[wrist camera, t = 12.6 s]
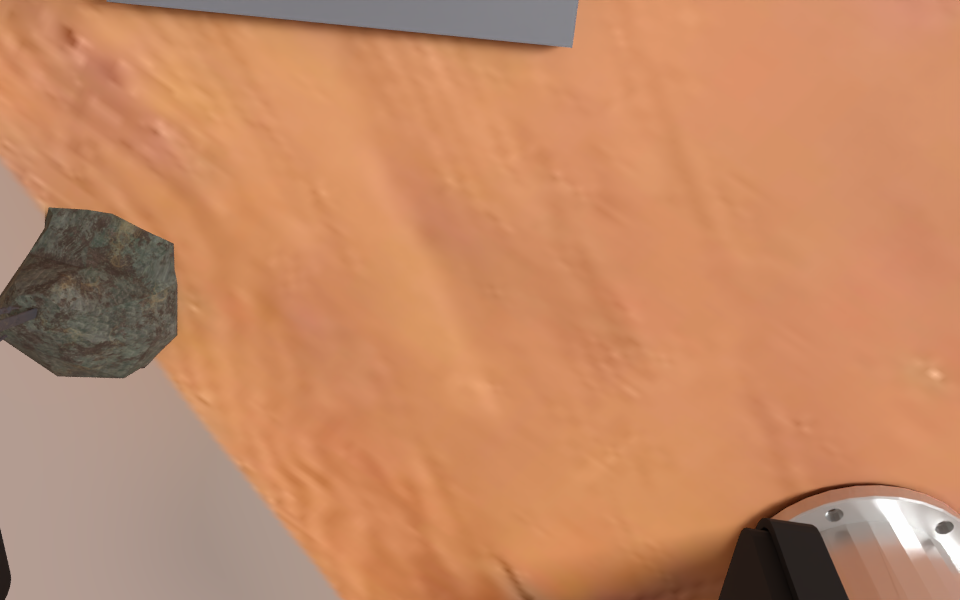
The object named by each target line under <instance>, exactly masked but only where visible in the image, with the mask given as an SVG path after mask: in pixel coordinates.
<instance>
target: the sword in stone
mask: <svg viewBox="0 0 960 600" xmlns="http://www.w3.org/2000/svg"><path fill="white" fill-rule="evenodd" d="M176 336H177V280H176V275H175V270H174V244H173V243H171V242H169V241H167V240H164V239H162V238H160V237H158V236H156V235H154V234H151V233H149V232H147V231H145V230H143V229H141V228H139V227H137V226H135V225H133V224H131V223H129V222H127V221H125V220H123V219H121V218H119V217H117V216H115V215H113V214H109V213H103V212H97V211H91V210H80V209H65V208H49V209H48V214H47V216H46V214H45V228H44V230H43V232H42V233H41V235H40V236H39V238H38V240H37V242H36V243H35V244H34V246H33V248H32V250H31V251H30V253H29V254H28V256H27V257H26V259H25V260H24V261H23V263H22V264H21V266H20V267H19V269H18V270H17V272H16V273H15V275H14V276H13V278H12V279H11V281H10V282H9V283H8V285H7V286H6V288H5V289H4V291H3V292H2V294H1V295H0V341H2V340H5V341H6V342H8V343H9V344H10V345H12V346H13V347H15V348H17V349H18V350H19V351H21V352H22V353H24V354H25V355H27V356H28V357H30V358H31V359H33V360H34V361H36V362H37V363H39V364H41V365H42V366H43V367H45V368H46V369H48V370H49V371H51V372H52V373H54V374H55V375H57V376H66V377H100V378H125V377H127V376H128V375H130V374H132V373H133V372H135V371H137V370H138V369H140V368H145V367H146V366H147V365H148V364H149V363H150V362H151V361H152V360H153V359H154V357H155V356H156V355H157V354H158V353H159V352H160V351H161V350H162V349H163V348H164V347H165V346H166V345H167V344H168V343H170V342H171V341H172V340H173V339H174V338H175V337H176Z"/></svg>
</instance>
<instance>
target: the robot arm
mask: <svg viewBox="0 0 960 600" xmlns="http://www.w3.org/2000/svg"><path fill="white" fill-rule="evenodd" d="M10 583H11V575H10V570H9V565H8V561H7V556H6V552H5V547H4V543H3V539H2V534H1V530H0V600H5V598H6V596H7V594H8V591H9V588H10ZM719 600H960V514H958V513H957V512H956V511H954V510H953V509H952V508H951V507H949V506H948V505H947V504H945V503H944V502H942V501H940V500H938V499H935V498H933V497H931V496H929V495H927V494H925V493H921V492H917V491H914V490H910V489H906V488H901V487H892V486H883V485H870V486H852V487H846V488H841V489H835V490H830V491H827V492H823V493H820V494H817V495H814V496H811V497H808V498H805V499H803V500H801V501H799V502H797V503H795V504H793V505H791V506H789V507H787V508H785V509H784V510H782V511H781V512H779V513H778V514H776V515H775V516H773V517H772V518H762V519H761V520H760V521H759V523H758V525H757V527H756V529H751V528H744V529H743V530H742V531H741V534H740V536H739V539H738V542H737V545H736V548H735V551H734V554H733V557H732V560H731V563H730V566H729V569H728V572H727V575H726V578H725V581H724V584H723V587H722V590H721V593H720V596H719Z"/></svg>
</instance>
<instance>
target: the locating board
mask: <svg viewBox="0 0 960 600" xmlns="http://www.w3.org/2000/svg"><path fill="white" fill-rule="evenodd" d="M107 2H116V3H126V4H136V5H146V6H156V7H166V8H177V9H187V10H197V11H207V12H217V13H227V14H237V15H247V16H257V17H267V18H277V19H288V20H298V21H308V22H318V23H328V24H338V25H348V26H358V27H368V28H378V29H389V30H399V31H409V32H419V33H429V34H439V35H449V36H459V37H469V38H479V39H489V40H500V41H510V42H520V43H530V44H540V45H550V46H560V47H570V48H572V45H573V37H574V30H575V22H576V15H577V8H578V0H107Z"/></svg>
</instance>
